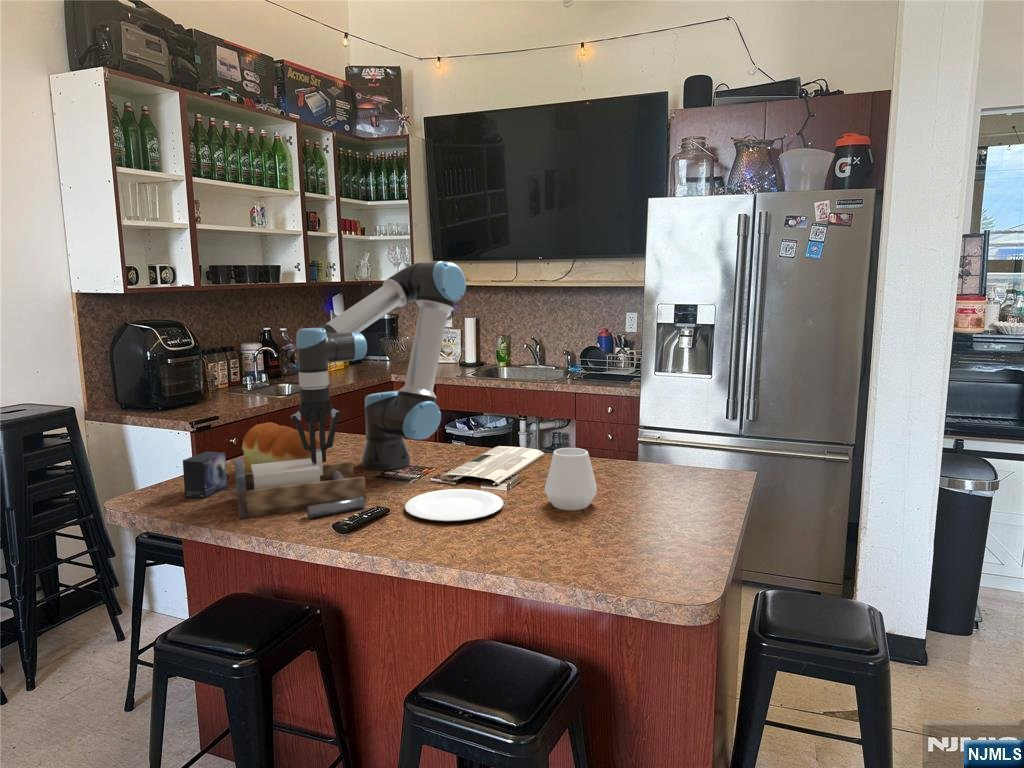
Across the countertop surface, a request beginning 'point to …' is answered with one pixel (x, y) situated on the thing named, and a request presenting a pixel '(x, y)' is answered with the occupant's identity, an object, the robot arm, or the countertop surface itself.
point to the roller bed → (297, 491)
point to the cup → (570, 479)
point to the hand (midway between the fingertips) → (319, 474)
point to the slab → (284, 473)
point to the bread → (273, 445)
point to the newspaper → (497, 463)
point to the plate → (454, 505)
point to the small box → (204, 474)
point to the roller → (335, 507)
